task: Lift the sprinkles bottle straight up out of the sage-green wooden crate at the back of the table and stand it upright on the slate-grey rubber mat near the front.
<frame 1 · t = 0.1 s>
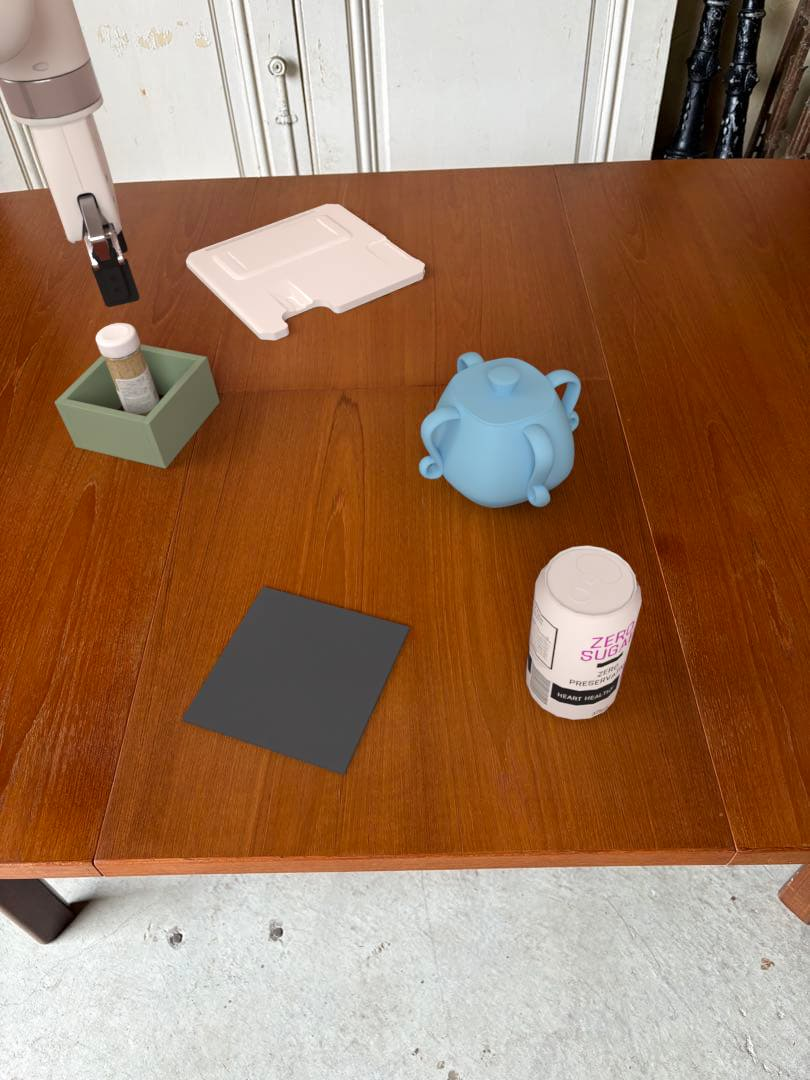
hand: (117, 277, 80), 24 cm above the table, tool pointing down, fingers open, 9 cm apart
decorative pot: (499, 471, 93), on the table
mat: (300, 673, 76), on the table
supplement can: (570, 684, 74), on the table
sprinkles bottle: (149, 425, 102), resting in crate
crate: (149, 424, 102), on the table
tray: (304, 270, 125), on the table
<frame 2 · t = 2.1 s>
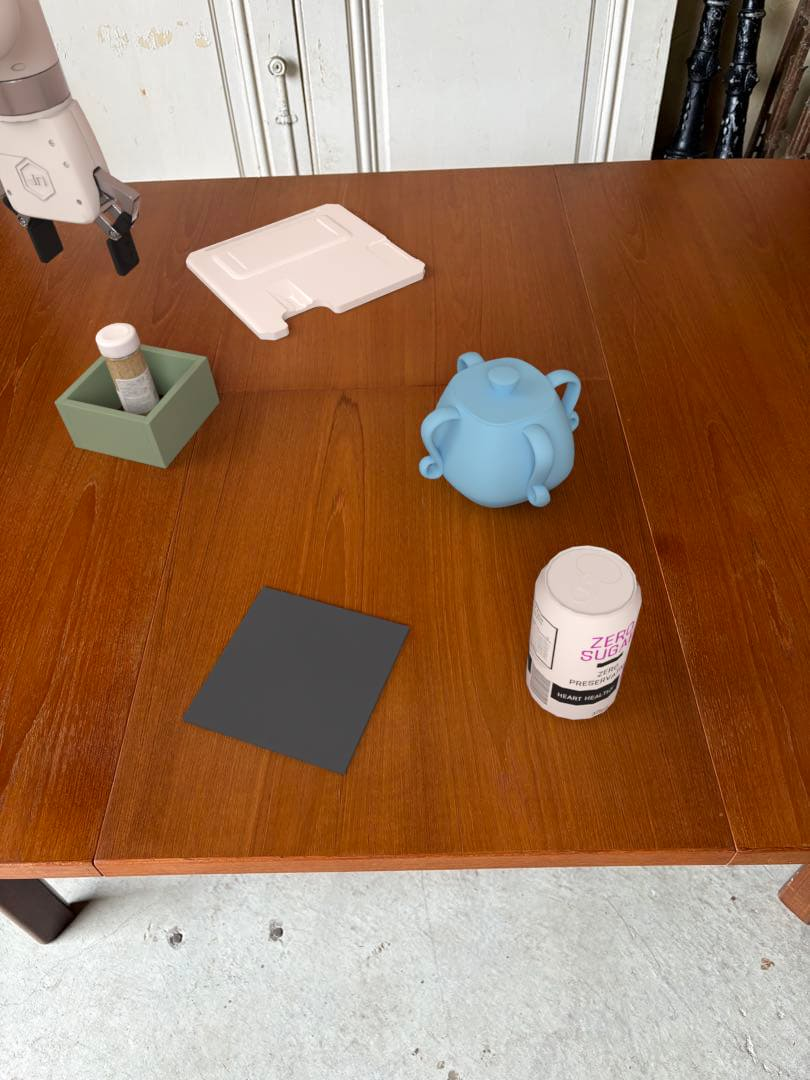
hand: (90, 262, 86), 22 cm above the table, tool pointing down, fingers open, 9 cm apart
nothing on the table moved.
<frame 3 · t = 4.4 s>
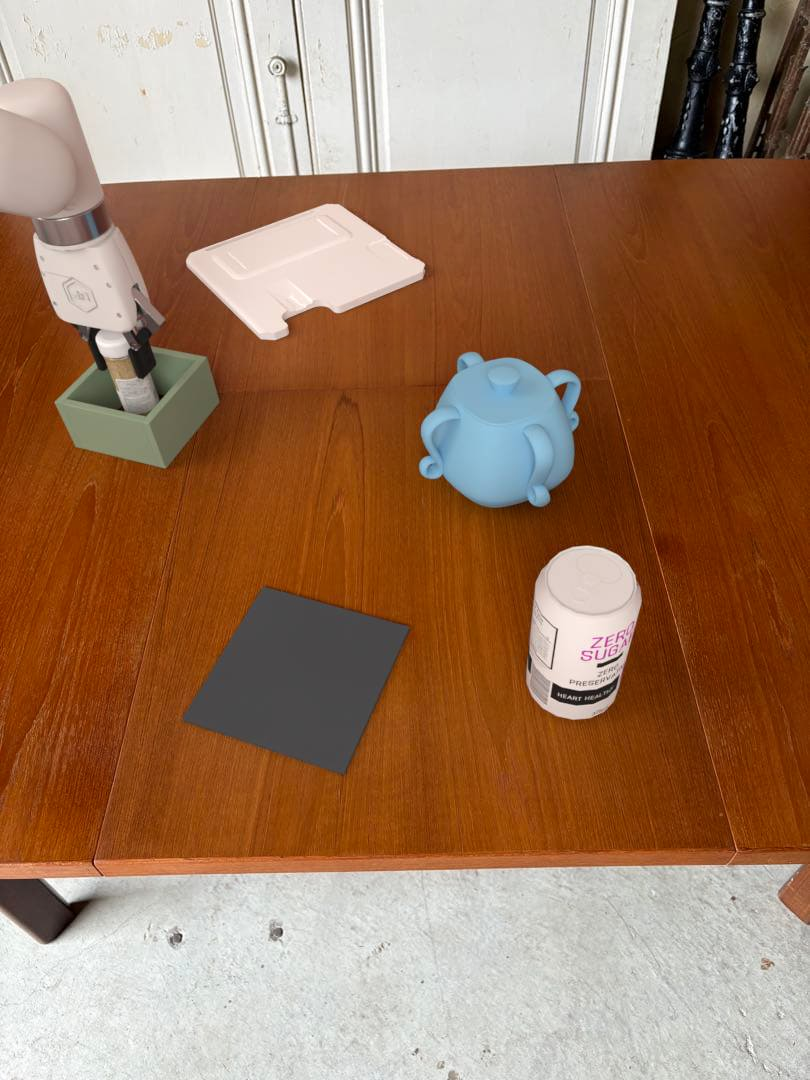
hand: (127, 366, 95), 9 cm above the table, tool pointing down, fingers closed on sprinkles bottle, 4 cm apart
sprinkles bottle: (149, 425, 102), resting in crate, touching gripper
everything else where it was.
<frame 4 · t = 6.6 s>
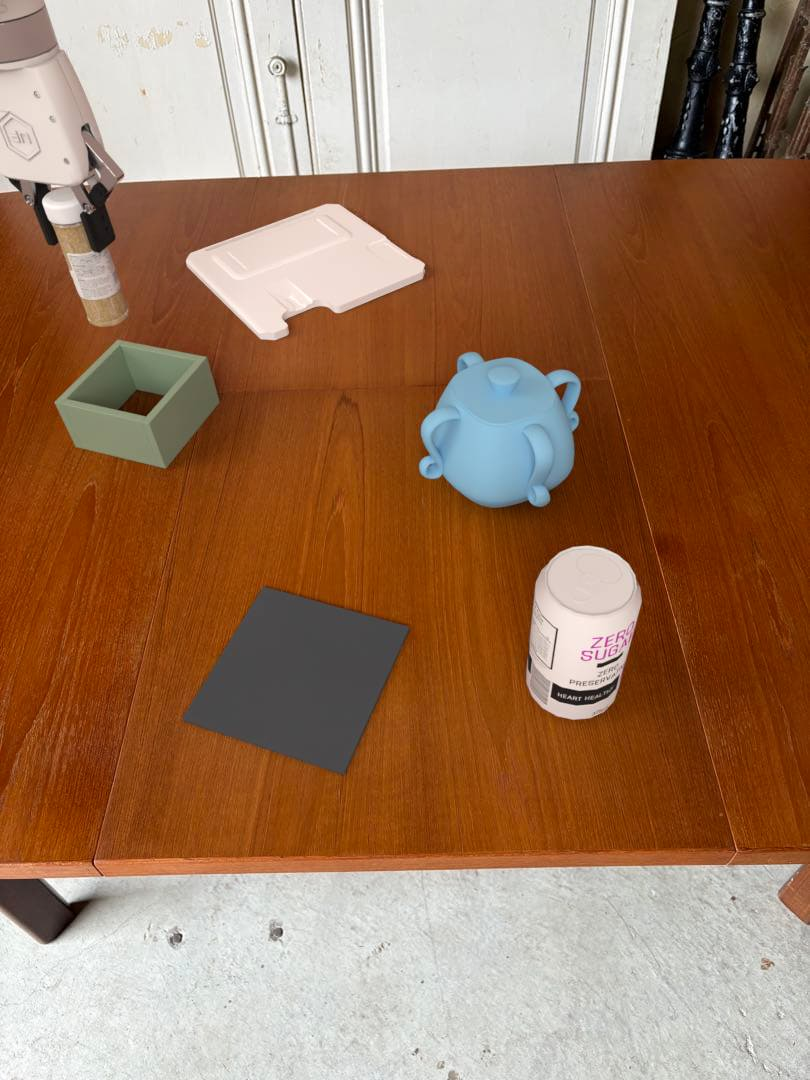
hand: (81, 240, 81), 26 cm above the table, tool pointing down, fingers closed on sprinkles bottle, 4 cm apart
sprinkles bottle: (110, 318, 88), point 17 cm above the table, touching gripper
everything else where it was.
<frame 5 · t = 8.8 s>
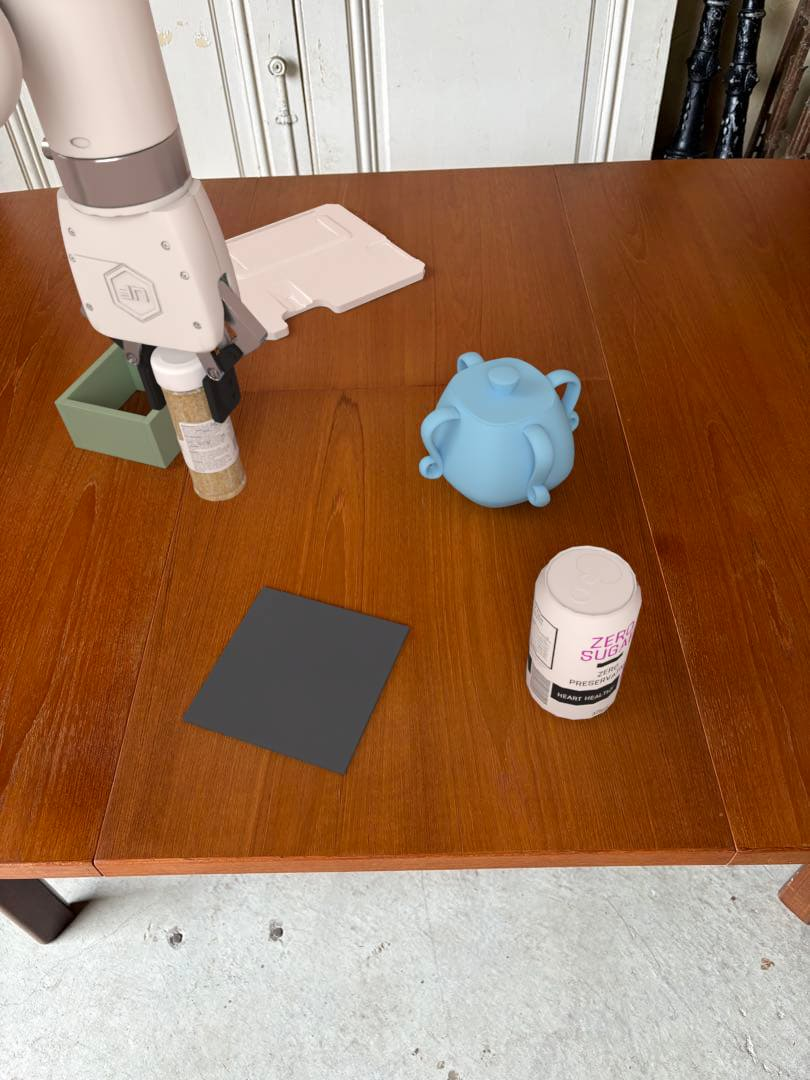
hand: (196, 403, 62), 26 cm above the table, tool pointing down, fingers closed on sprinkles bottle, 4 cm apart
sprinkles bottle: (221, 486, 69), point 17 cm above the table, touching gripper
everything else where it was.
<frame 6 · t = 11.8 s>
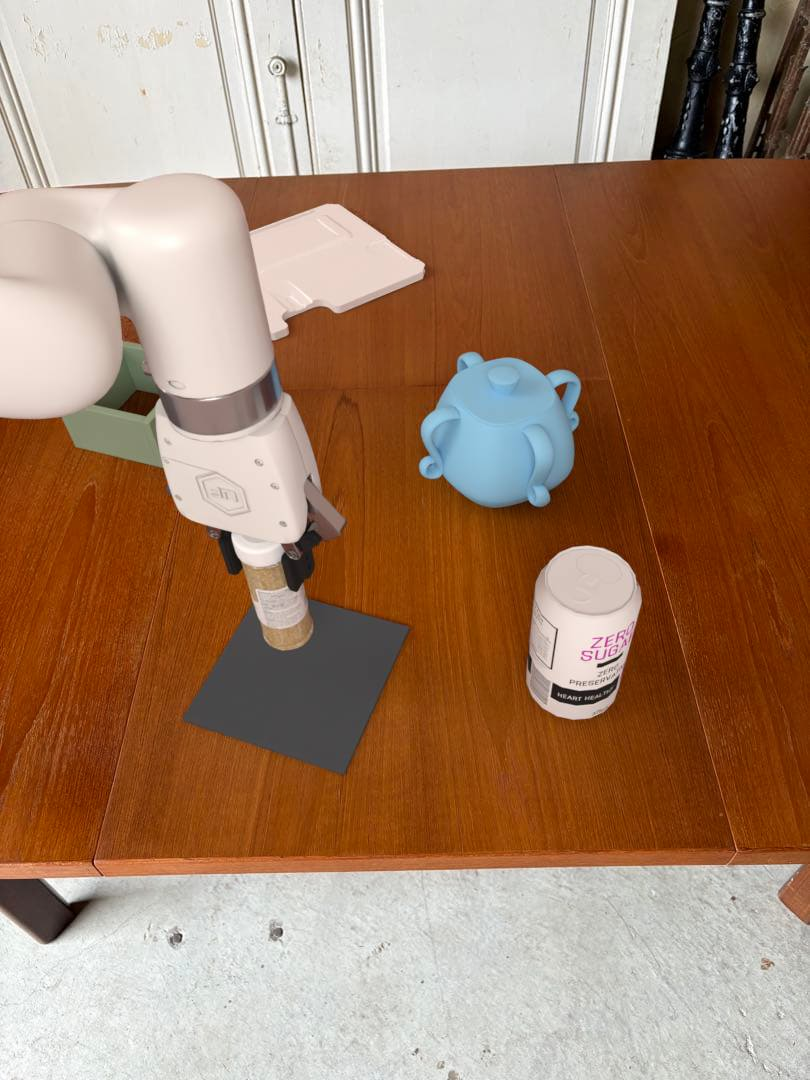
hand: (271, 568, 65), 15 cm above the table, tool pointing down, fingers closed on sprinkles bottle, 4 cm apart
sprinkles bottle: (289, 632, 71), point 6 cm above the table, touching gripper
everything else where it was.
when the fingers open (9 cm above the table, at t = 13.7 s): sprinkles bottle stays where it is, resting on mat.
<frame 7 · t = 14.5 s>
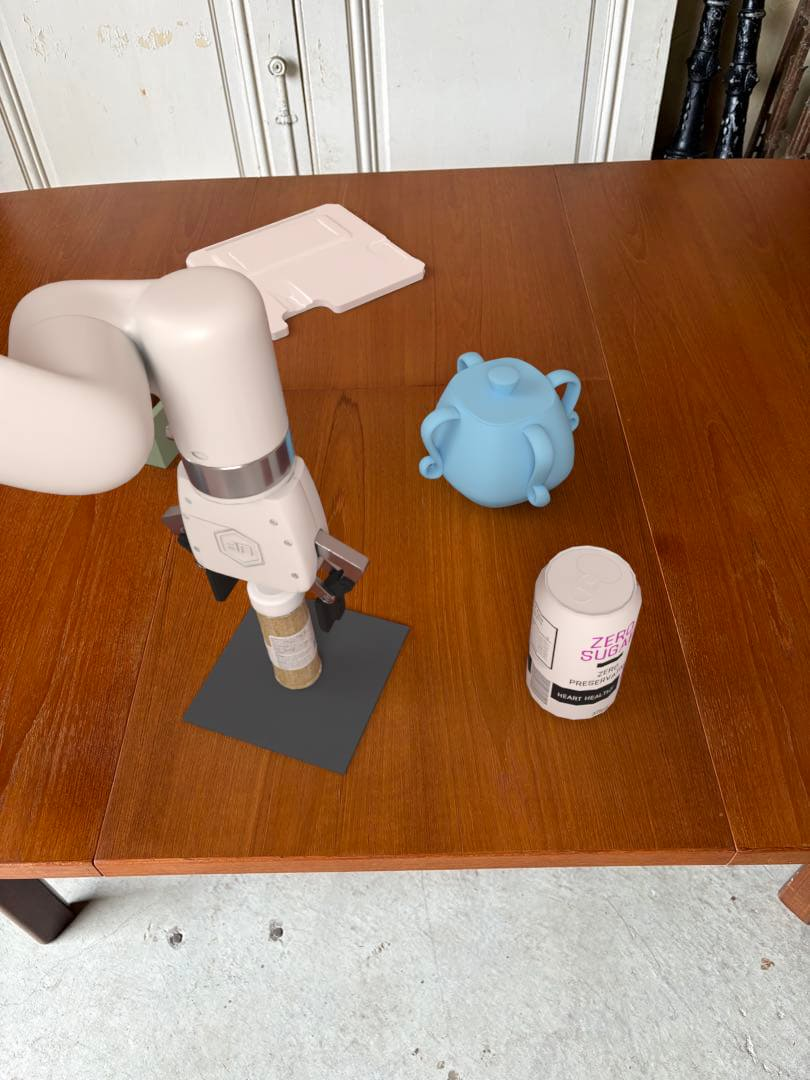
hand: (279, 603, 68), 11 cm above the table, tool pointing down, fingers open, 9 cm apart
sprinkles bottle: (299, 672, 76), resting on mat
everything else where it was.
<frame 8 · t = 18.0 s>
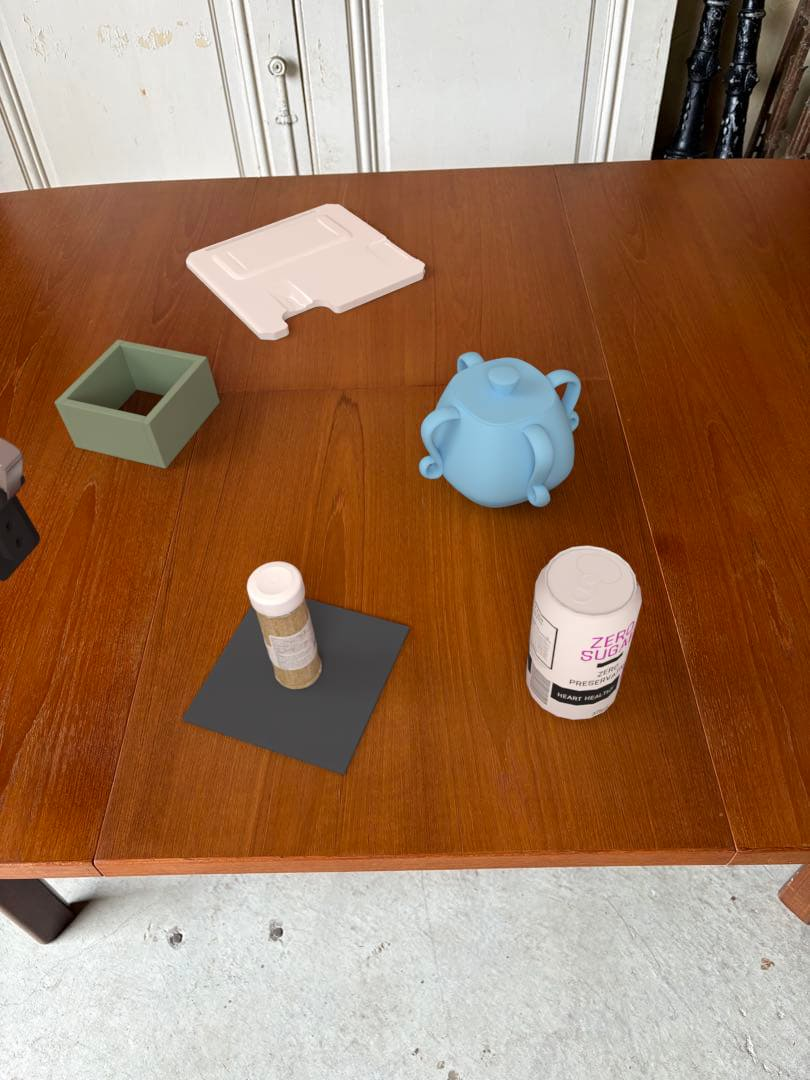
nothing on the table moved.
at the end: sprinkles bottle inside the target area on the mat (0.1 cm from its centre), point 0.2 cm above the mat's base; sprinkles bottle tilted 0°; sprinkles bottle touching mat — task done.
